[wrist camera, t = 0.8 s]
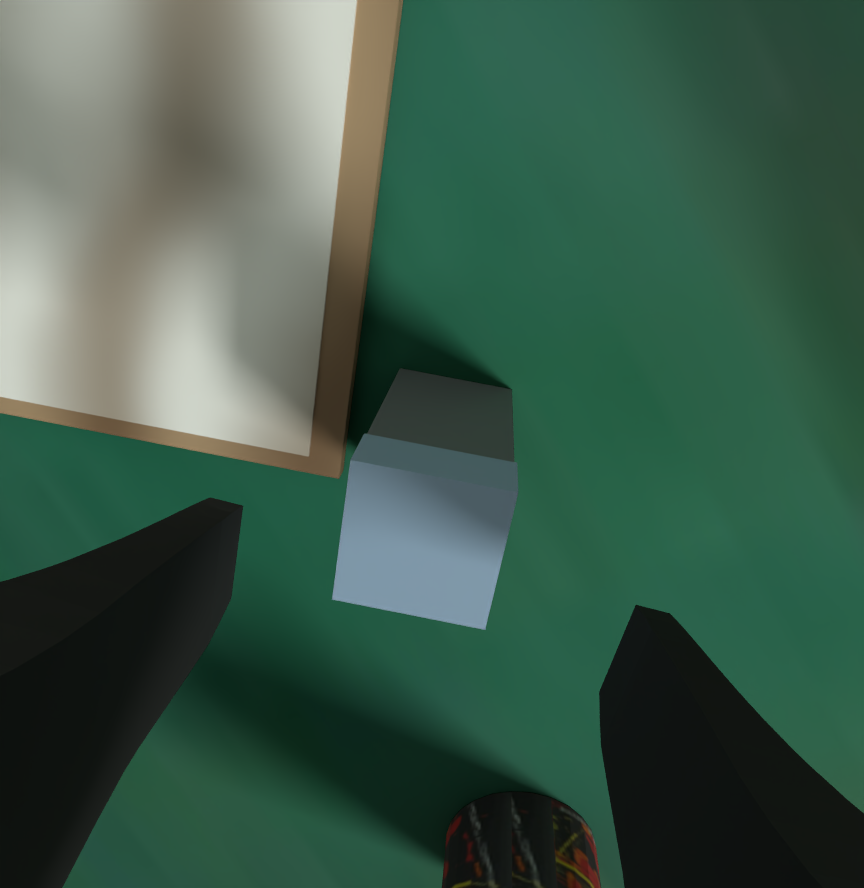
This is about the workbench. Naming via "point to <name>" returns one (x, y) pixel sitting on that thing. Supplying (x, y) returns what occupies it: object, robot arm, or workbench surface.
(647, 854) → the robot arm
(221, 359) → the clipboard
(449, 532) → the block
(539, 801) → the deodorant
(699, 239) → the workbench surface
